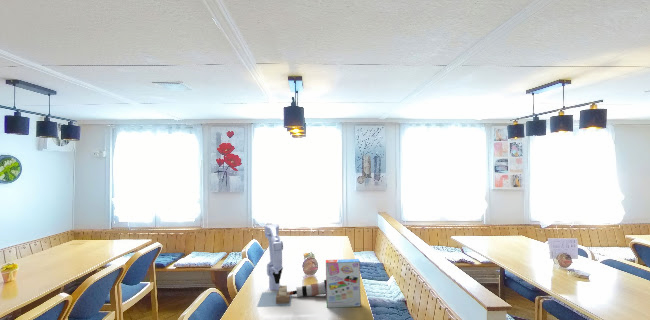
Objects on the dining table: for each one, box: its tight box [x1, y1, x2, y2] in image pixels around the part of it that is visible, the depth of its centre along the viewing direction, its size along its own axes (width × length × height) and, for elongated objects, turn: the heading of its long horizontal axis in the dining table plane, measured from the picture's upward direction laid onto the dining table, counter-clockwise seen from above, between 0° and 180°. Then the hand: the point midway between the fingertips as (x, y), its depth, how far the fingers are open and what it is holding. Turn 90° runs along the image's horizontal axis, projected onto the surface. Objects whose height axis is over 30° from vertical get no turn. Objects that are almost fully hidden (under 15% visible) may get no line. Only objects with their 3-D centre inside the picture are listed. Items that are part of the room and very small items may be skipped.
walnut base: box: [276, 291, 290, 304], centre depth 204 cm, size 8×8×4 cm
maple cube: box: [278, 285, 288, 296], centre depth 205 cm, size 4×4×4 cm
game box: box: [325, 258, 362, 309], centre depth 198 cm, size 21×6×27 cm, turn 92°
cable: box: [289, 279, 327, 298], centre depth 212 cm, size 10×34×10 cm, turn 95°
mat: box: [256, 291, 293, 308], centre depth 207 cm, size 22×20×1 cm
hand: (277, 281), depth 212 cm, fingers open, 7 cm apart
